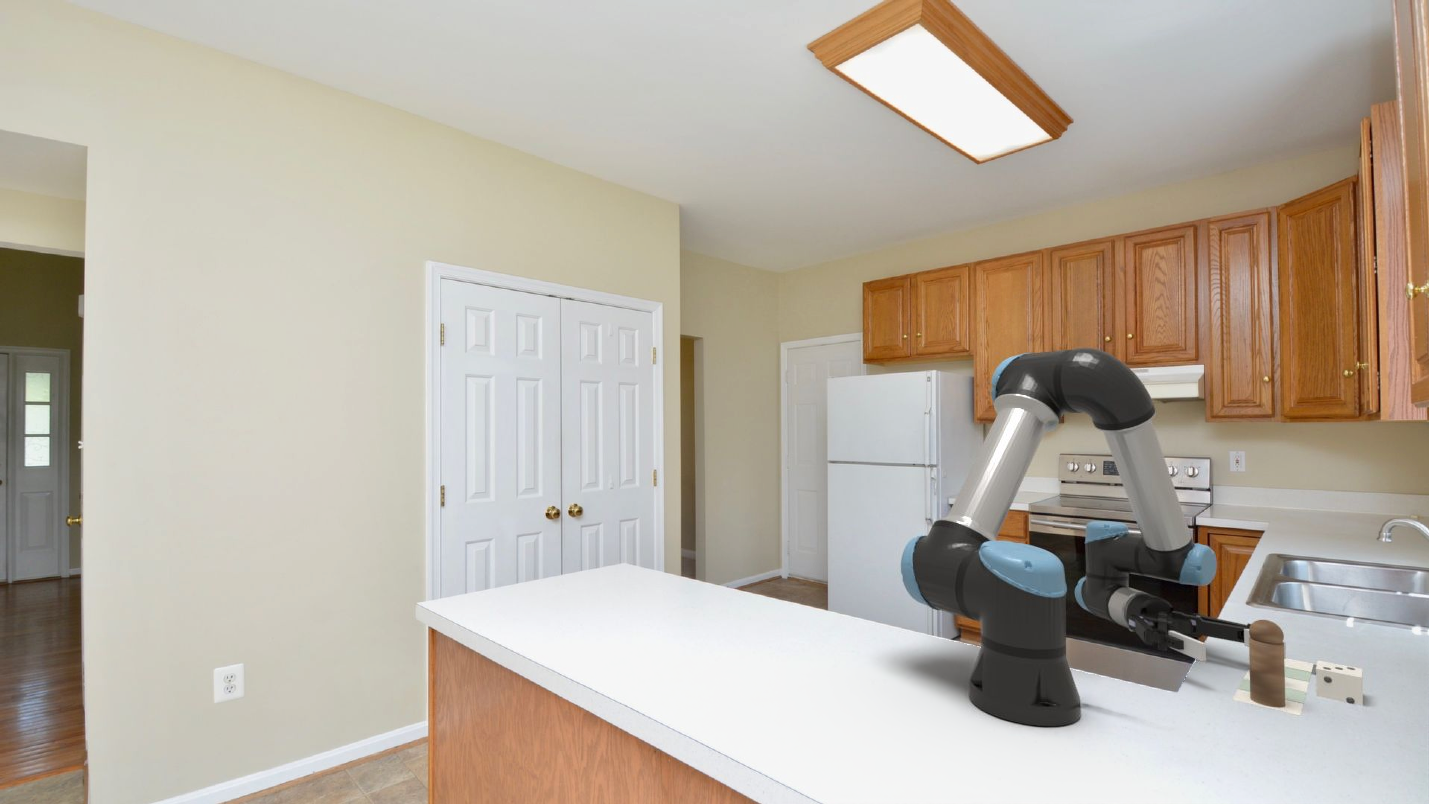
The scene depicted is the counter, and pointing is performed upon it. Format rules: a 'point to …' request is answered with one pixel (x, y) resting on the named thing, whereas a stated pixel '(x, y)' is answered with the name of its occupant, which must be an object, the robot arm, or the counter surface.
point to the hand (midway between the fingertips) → (1244, 651)
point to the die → (1339, 682)
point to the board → (1292, 670)
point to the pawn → (1267, 664)
